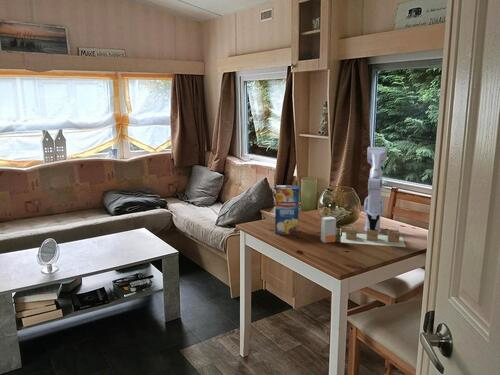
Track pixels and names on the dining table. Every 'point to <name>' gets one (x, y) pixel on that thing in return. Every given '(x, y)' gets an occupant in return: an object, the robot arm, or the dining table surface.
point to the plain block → (372, 234)
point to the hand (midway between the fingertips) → (372, 229)
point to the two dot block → (351, 233)
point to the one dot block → (393, 235)
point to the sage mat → (381, 241)
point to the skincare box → (328, 229)
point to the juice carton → (286, 209)
